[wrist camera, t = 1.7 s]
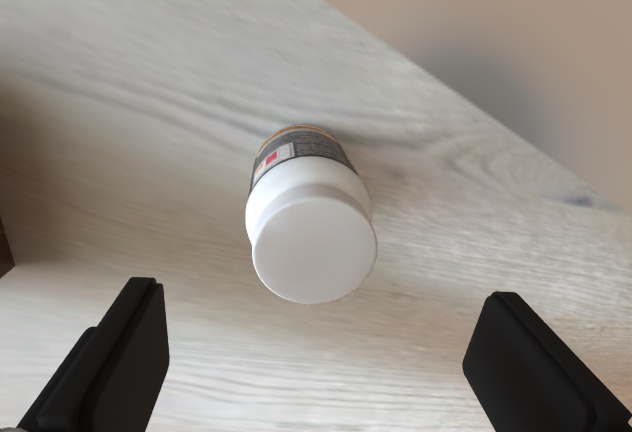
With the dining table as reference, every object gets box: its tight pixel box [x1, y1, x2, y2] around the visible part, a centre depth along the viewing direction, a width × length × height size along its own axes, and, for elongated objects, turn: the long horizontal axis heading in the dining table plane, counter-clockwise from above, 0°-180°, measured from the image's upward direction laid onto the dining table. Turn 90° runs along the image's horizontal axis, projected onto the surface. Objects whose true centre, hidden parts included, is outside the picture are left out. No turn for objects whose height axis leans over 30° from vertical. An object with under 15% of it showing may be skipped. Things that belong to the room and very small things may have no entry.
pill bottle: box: [246, 125, 377, 304], centre depth 18 cm, size 6×6×10 cm
